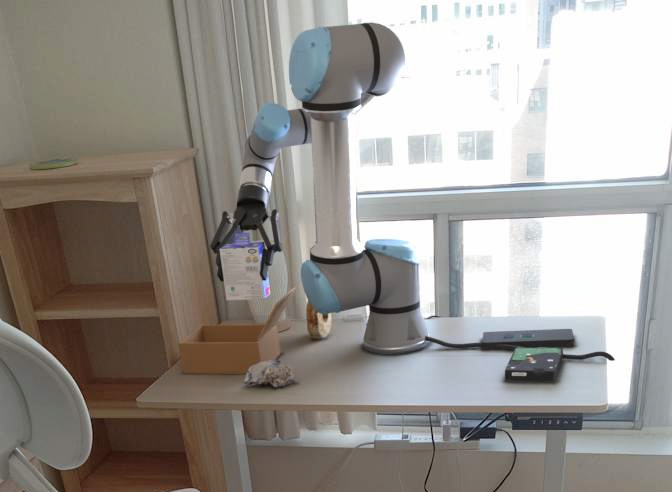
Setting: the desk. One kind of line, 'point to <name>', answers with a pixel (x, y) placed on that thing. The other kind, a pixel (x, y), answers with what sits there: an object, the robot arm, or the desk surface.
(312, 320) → the stone disc
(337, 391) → the desk surface
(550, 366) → the disk drive
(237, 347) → the carton
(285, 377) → the mineral specimen
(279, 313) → the flap
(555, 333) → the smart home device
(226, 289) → the ink cartridge box
